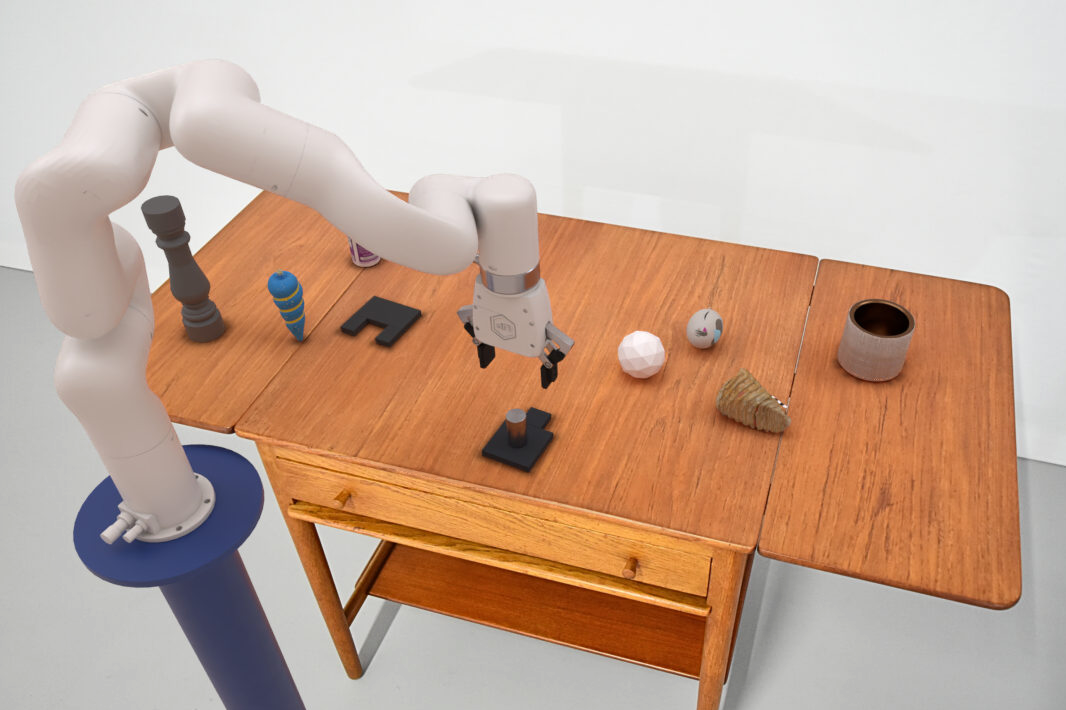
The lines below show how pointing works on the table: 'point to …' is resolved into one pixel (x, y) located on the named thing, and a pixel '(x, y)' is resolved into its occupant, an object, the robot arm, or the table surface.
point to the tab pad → (526, 452)
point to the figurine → (704, 328)
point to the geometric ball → (641, 354)
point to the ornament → (288, 300)
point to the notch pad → (382, 319)
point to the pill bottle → (362, 255)
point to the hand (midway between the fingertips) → (518, 372)
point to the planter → (876, 339)
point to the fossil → (751, 403)
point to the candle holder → (183, 269)
